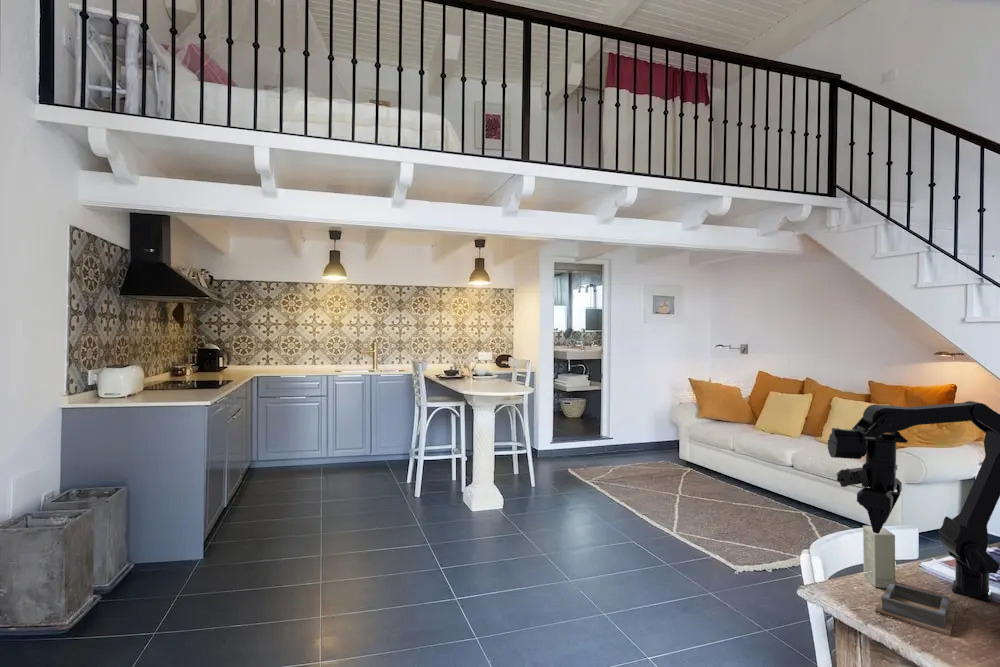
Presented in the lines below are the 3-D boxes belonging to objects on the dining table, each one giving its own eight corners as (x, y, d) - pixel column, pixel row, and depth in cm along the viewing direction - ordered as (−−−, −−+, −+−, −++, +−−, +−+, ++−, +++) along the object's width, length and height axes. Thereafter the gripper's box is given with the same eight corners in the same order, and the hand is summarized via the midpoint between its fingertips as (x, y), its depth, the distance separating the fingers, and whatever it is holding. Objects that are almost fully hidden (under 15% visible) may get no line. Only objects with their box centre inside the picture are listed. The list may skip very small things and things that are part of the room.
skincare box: (896, 589, 123) (897, 536, 123) (874, 587, 124) (874, 534, 124) (882, 577, 129) (883, 526, 129) (861, 575, 130) (862, 524, 130)
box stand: (885, 592, 122) (885, 578, 121) (955, 612, 113) (955, 597, 113) (875, 613, 113) (875, 598, 113) (950, 635, 105) (950, 619, 105)
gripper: (848, 448, 138) (847, 509, 139) (831, 461, 125) (830, 529, 125) (902, 455, 131) (901, 520, 131) (890, 470, 117) (889, 542, 117)
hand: (879, 527), depth 126 cm, fingers open, 9 cm apart
